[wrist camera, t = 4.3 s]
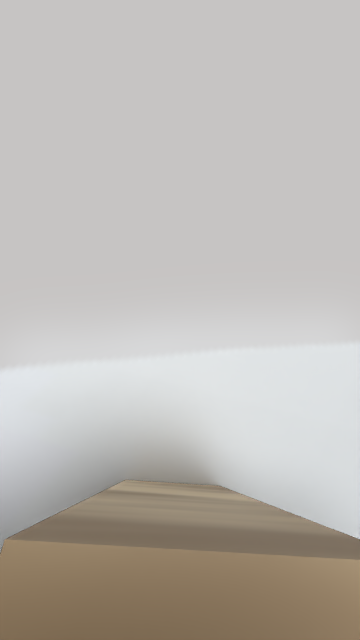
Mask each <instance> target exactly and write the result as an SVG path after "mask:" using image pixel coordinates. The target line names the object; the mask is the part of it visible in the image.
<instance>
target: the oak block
mask: <svg viewBox="0 0 360 640" xmlns="http://www.w3.org/2000/svg"><path fill="white" fill-rule="evenodd" d="M0 640H360V539H357V538H354V537H352V536H349V535H347V534H344V533H341V532H339V531H336V530H334V529H331V528H328V527H326V526H323V525H321V524H318V523H315V522H313V521H310V520H308V519H305V518H302V517H300V516H297V515H294V514H292V513H289V512H287V511H284V510H281V509H279V508H276V507H274V506H271V505H268V504H266V503H263V502H261V501H258V500H255V499H253V498H250V497H248V496H245V495H242V494H240V493H237V492H235V491H232V490H229V489H227V488H224V487H222V486H212V485H197V484H182V483H167V482H151V481H136V480H124V481H122V482H120V483H118V484H116V485H114V486H112V487H110V488H108V489H106V490H104V491H102V492H100V493H98V494H96V495H94V496H92V497H90V498H88V499H86V500H84V501H82V502H80V503H78V504H76V505H74V506H72V507H69V508H67V509H65V510H63V511H61V512H59V513H57V514H55V515H53V516H51V517H49V518H47V519H45V520H43V521H41V522H39V523H37V524H35V525H33V526H31V527H29V528H27V529H25V530H23V531H21V532H19V533H17V534H15V535H13V536H11V537H9V538H7V539H5V541H4V544H3V547H2V550H1V554H0Z"/></svg>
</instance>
